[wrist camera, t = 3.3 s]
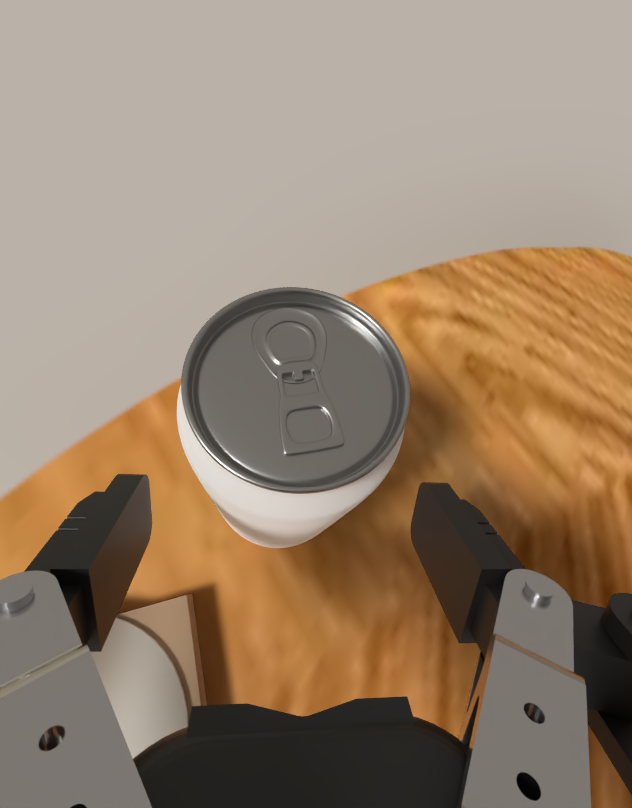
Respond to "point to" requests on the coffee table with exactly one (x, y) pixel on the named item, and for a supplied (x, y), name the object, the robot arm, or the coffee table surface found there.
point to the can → (291, 411)
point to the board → (153, 670)
